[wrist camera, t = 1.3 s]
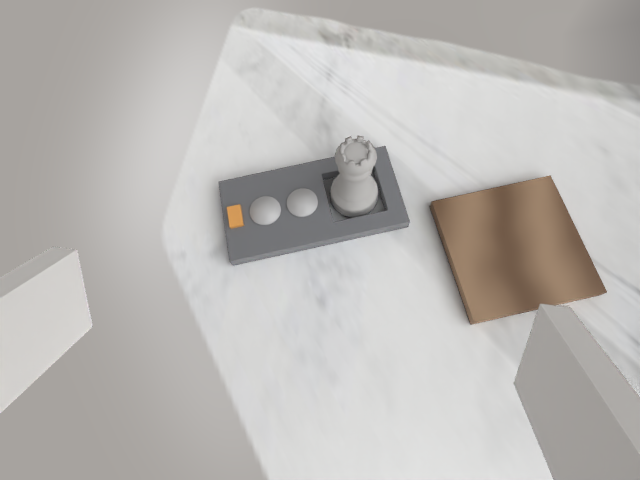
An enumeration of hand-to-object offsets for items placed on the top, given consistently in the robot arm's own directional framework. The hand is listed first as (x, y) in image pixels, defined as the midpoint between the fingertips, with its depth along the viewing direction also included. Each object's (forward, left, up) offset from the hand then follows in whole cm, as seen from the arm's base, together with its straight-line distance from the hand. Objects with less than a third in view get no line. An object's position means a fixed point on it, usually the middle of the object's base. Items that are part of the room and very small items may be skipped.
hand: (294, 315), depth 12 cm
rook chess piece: (-6, -14, -23) cm, 28 cm away
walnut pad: (-18, -6, -23) cm, 29 cm away
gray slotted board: (-2, -14, -23) cm, 27 cm away
